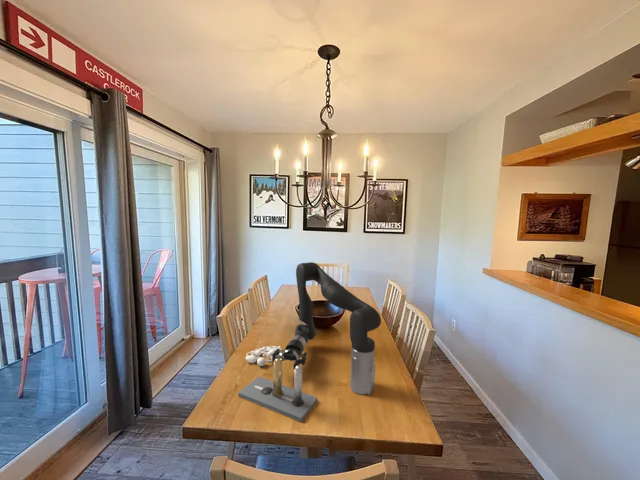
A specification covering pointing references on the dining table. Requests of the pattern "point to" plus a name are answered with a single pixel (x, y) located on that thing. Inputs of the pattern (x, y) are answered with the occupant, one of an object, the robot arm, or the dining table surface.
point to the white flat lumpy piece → (260, 359)
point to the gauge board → (278, 399)
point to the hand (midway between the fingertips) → (284, 365)
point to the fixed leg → (298, 385)
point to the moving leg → (277, 378)
